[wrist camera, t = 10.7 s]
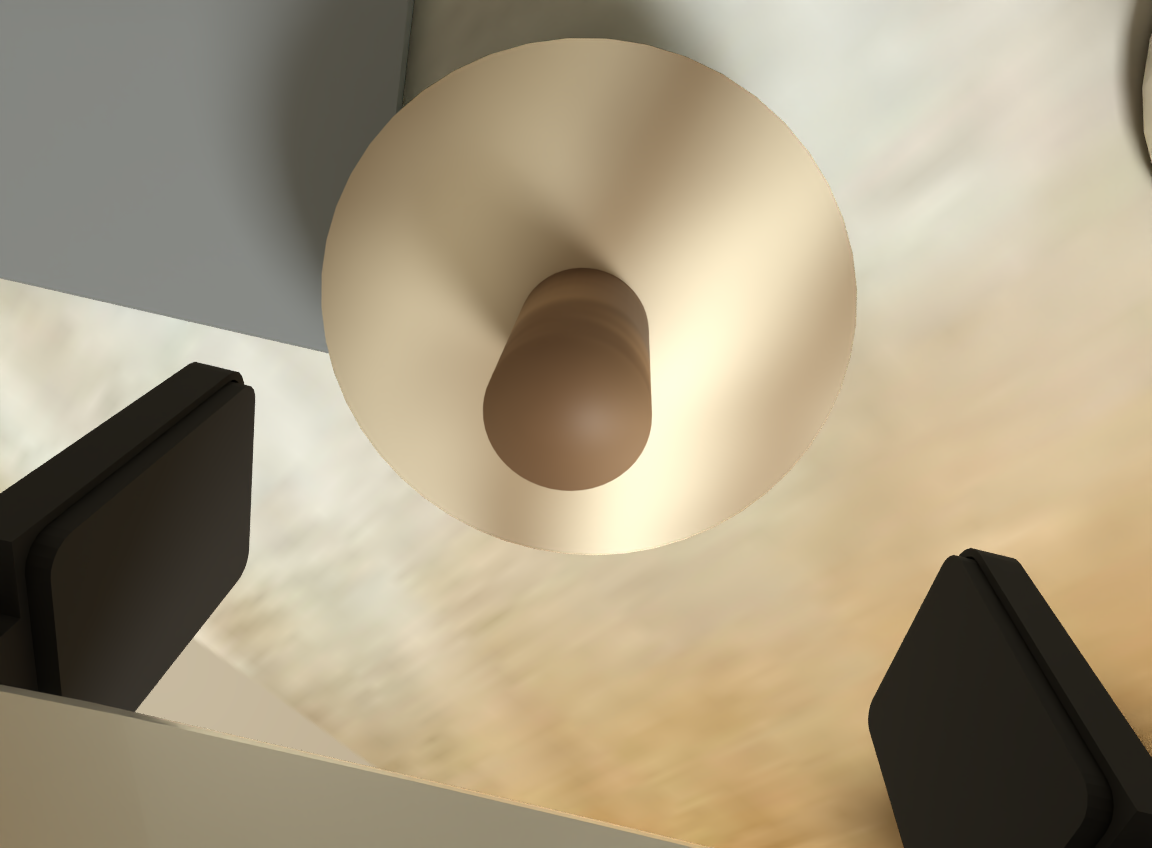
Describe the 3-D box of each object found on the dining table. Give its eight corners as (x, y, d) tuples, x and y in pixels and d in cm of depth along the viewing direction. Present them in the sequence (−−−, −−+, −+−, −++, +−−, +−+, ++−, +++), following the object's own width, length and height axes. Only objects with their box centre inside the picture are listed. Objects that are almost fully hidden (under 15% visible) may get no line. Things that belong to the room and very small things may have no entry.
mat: (435, -185, 20) (429, -191, 20) (372, 355, 27) (367, 362, 26) (-156, -332, 20) (-178, -343, 19) (-76, 253, 26) (-91, 257, 26)
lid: (930, 111, 18) (1056, 138, 13) (756, 576, 24) (791, 734, 18) (358, -23, 18) (234, -53, 12) (318, 481, 23) (220, 614, 18)
